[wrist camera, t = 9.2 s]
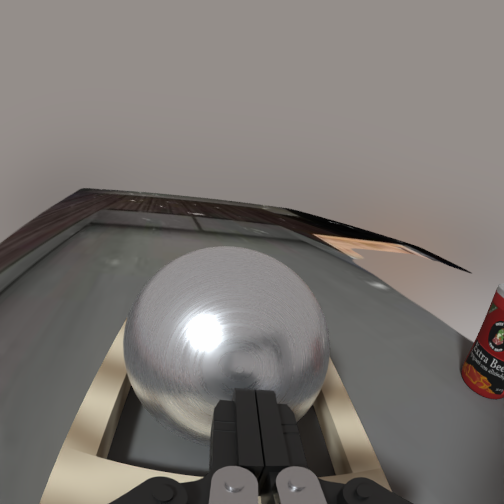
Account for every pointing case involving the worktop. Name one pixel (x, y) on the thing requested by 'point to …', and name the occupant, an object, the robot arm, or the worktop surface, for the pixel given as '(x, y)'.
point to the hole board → (128, 477)
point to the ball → (223, 337)
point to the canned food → (488, 353)
